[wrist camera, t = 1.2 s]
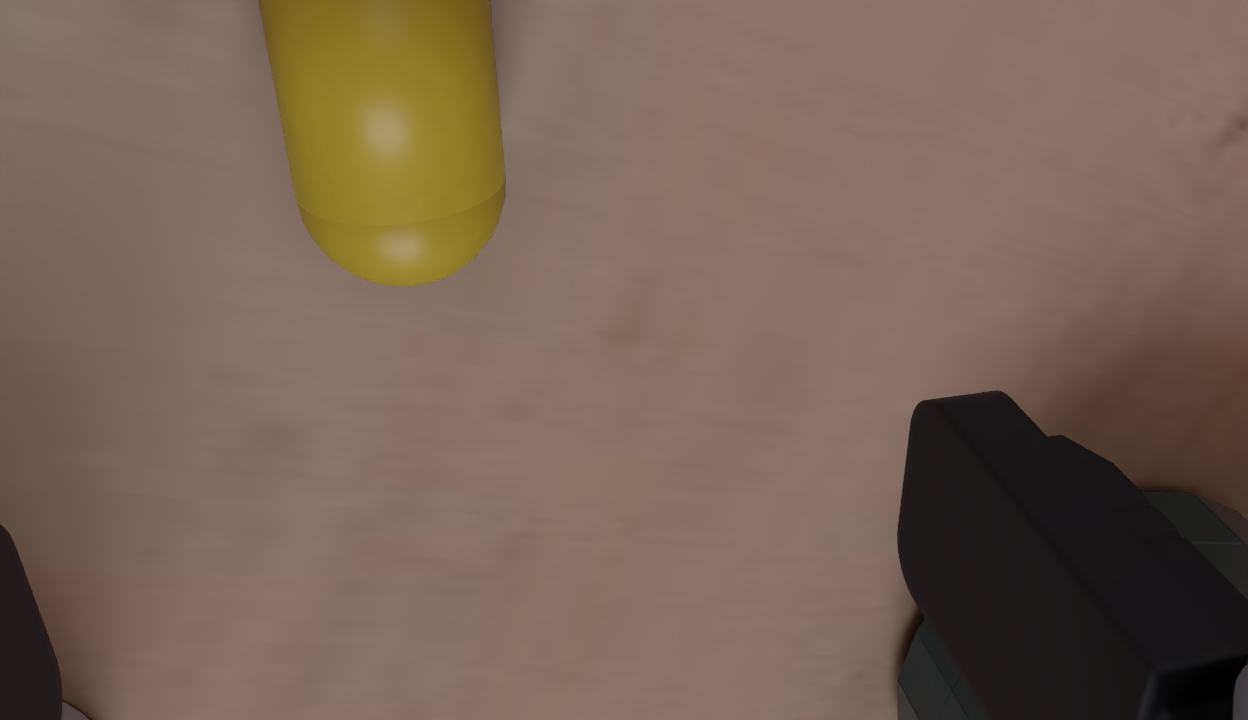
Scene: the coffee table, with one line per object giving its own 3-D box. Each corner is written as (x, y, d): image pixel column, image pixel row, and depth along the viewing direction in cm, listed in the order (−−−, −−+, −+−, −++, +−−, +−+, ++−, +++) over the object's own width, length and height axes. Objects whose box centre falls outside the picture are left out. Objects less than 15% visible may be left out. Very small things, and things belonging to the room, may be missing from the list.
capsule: (247, -241, 23) (184, -224, 19) (475, -250, 24) (460, -234, 20) (330, 239, 29) (295, 329, 25) (516, 229, 29) (510, 318, 25)
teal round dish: (1052, 428, 36) (1166, 549, 31) (1334, 544, 42) (1470, 664, 37) (817, 737, 41) (881, 885, 36) (1095, 805, 47) (1185, 942, 42)
